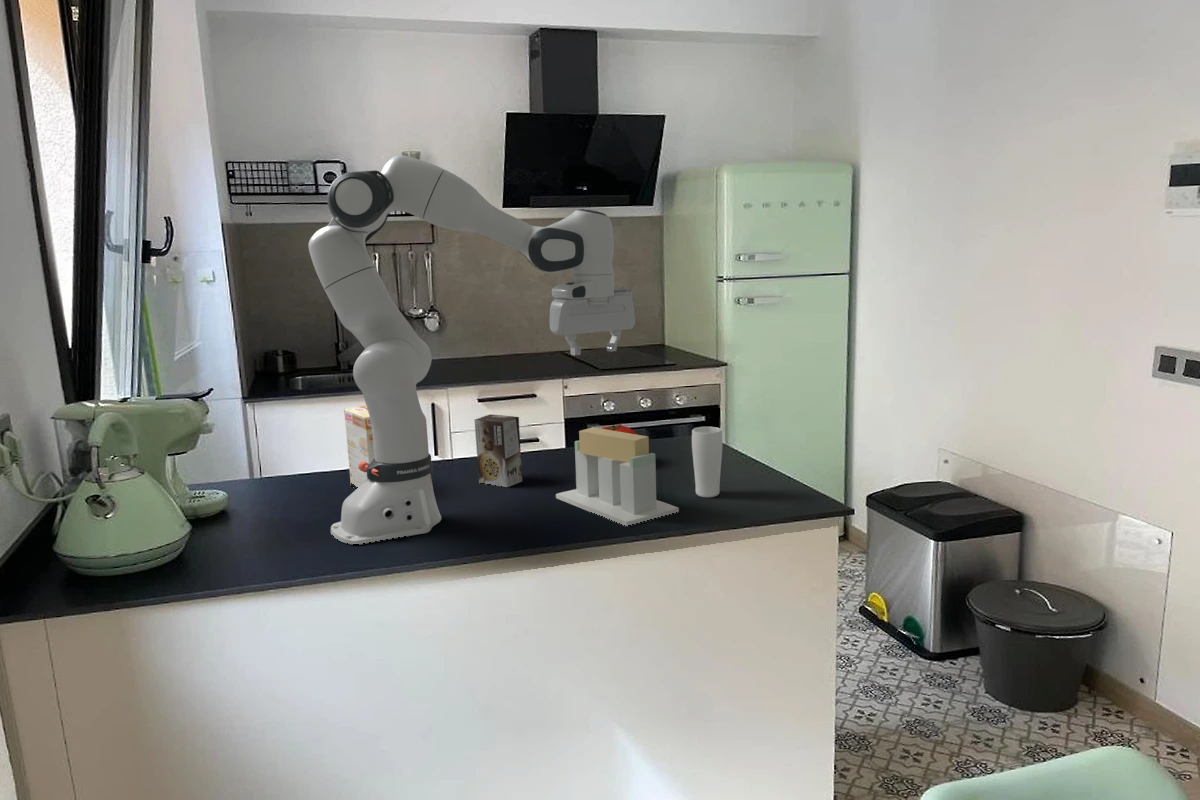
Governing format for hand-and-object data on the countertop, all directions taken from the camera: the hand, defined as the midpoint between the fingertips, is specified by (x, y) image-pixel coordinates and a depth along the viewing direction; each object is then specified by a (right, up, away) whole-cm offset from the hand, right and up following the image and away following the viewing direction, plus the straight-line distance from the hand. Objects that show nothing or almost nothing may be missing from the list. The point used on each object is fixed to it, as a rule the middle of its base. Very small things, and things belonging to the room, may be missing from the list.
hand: (593, 353), depth 185 cm
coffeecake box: (-53, -32, +22) cm, 65 cm away
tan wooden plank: (+4, -22, +2) cm, 23 cm away
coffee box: (-23, -30, +25) cm, 45 cm away
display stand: (+5, -33, +4) cm, 34 cm away
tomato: (+5, -27, +37) cm, 46 cm away
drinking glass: (+25, -32, +9) cm, 42 cm away
